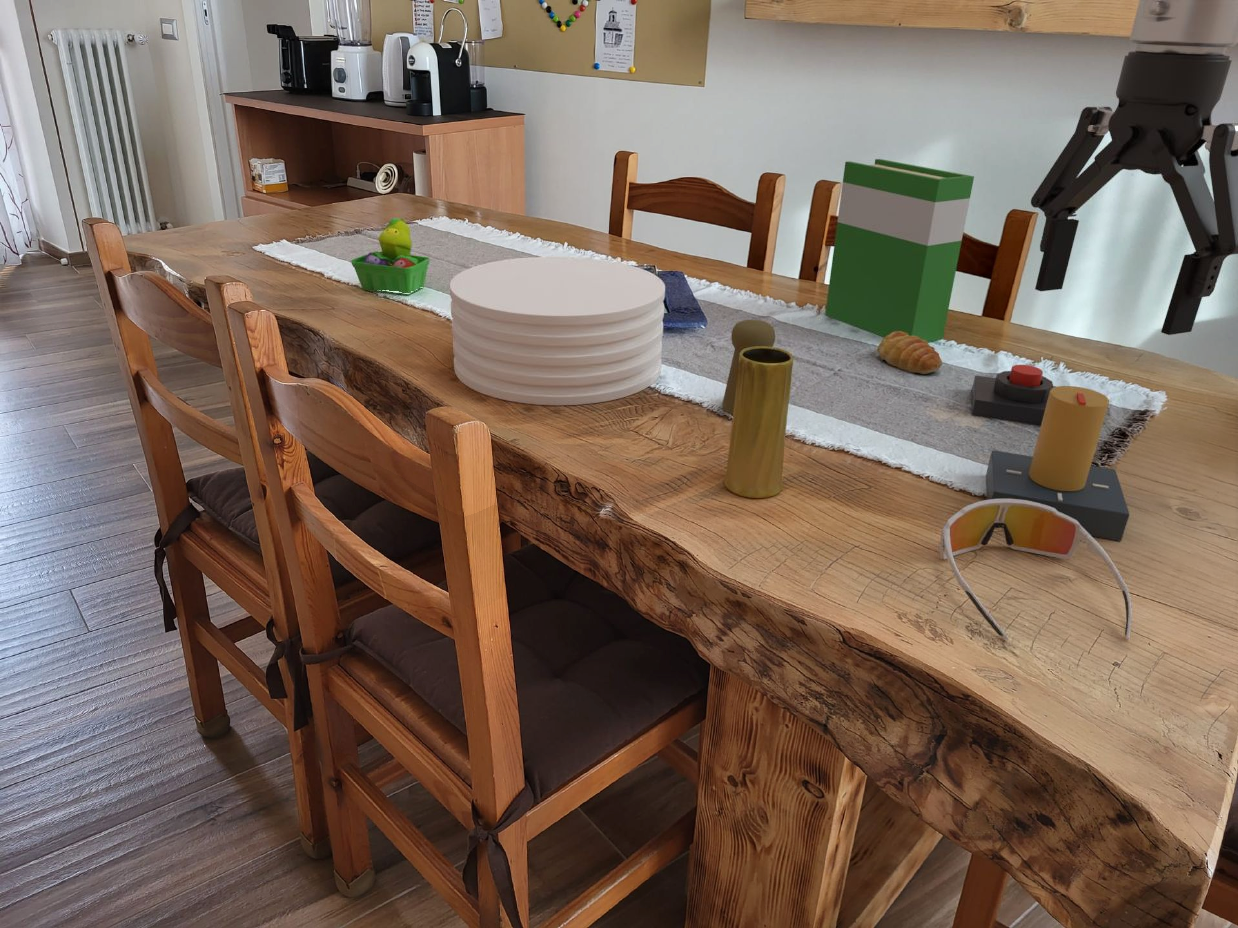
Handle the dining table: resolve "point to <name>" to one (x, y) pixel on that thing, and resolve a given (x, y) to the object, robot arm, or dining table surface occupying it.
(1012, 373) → the button
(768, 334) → the pepper mill
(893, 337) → the pastry
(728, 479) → the vase
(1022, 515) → the sunglasses
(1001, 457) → the knob panel
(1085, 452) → the yellow round cylinder
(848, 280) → the green cereal box
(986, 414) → the button box
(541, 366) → the plate stack
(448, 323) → the dining table surface
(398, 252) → the fruit basket
